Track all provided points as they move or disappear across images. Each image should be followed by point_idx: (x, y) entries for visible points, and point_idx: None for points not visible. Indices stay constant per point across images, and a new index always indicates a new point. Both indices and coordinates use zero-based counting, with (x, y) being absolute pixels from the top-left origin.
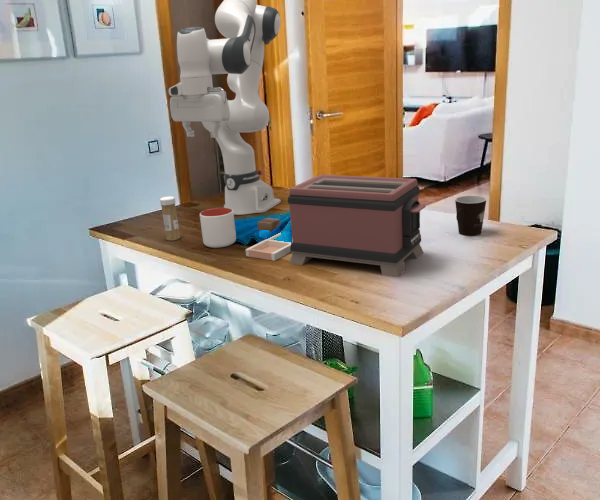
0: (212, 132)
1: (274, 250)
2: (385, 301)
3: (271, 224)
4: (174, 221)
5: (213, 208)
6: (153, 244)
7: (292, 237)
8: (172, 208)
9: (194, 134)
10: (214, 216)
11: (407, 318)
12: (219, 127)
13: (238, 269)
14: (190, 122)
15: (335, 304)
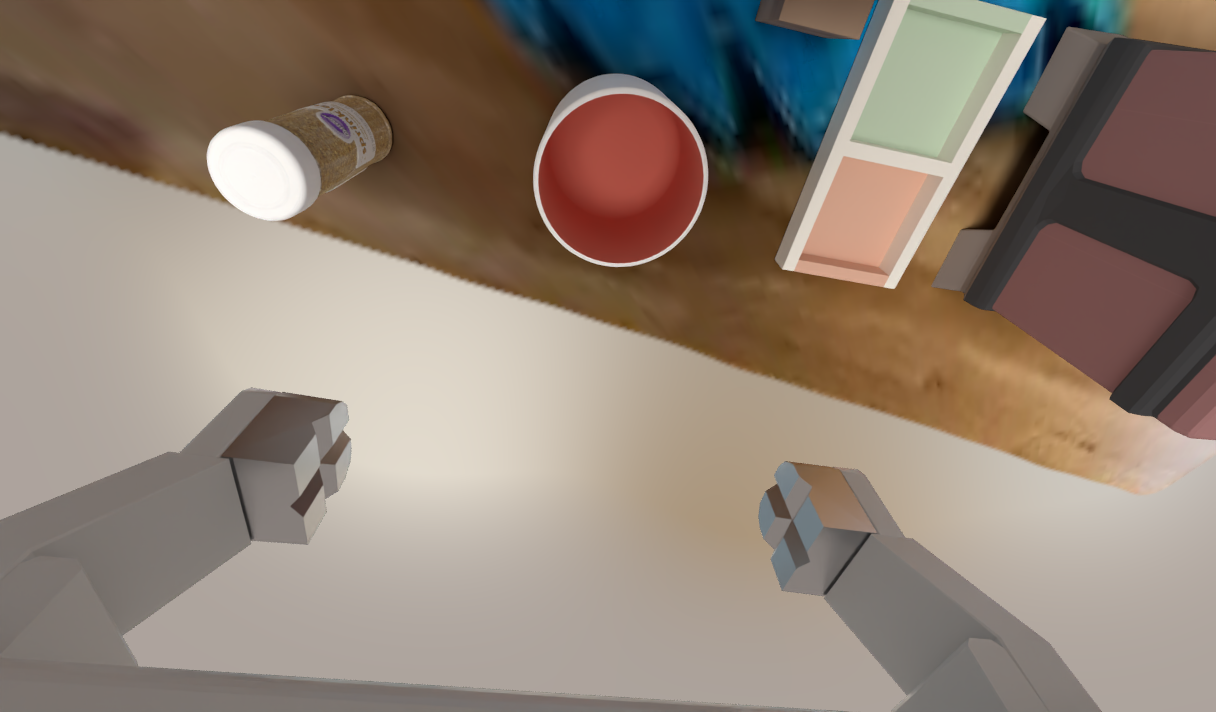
0: (824, 586)
1: (868, 193)
2: (1154, 433)
3: (860, 28)
4: (360, 161)
5: (563, 117)
6: (342, 215)
7: (1005, 317)
8: (328, 177)
9: (328, 411)
10: (652, 259)
11: (1171, 478)
12: (980, 595)
13: (785, 357)
14: (45, 619)
15: (1044, 462)
